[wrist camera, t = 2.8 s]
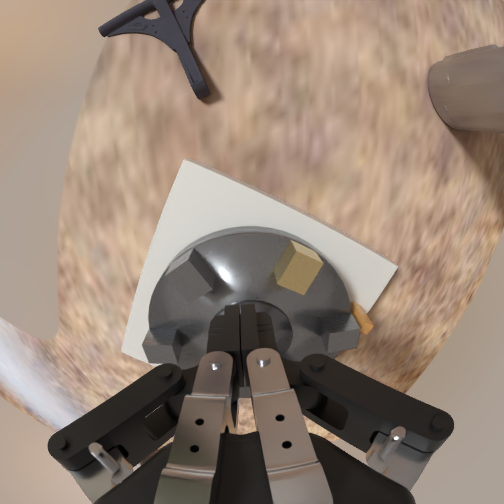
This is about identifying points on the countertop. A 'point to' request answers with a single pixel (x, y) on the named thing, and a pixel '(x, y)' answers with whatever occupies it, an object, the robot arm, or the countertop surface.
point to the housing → (248, 214)
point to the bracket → (164, 33)
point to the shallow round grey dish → (249, 296)
